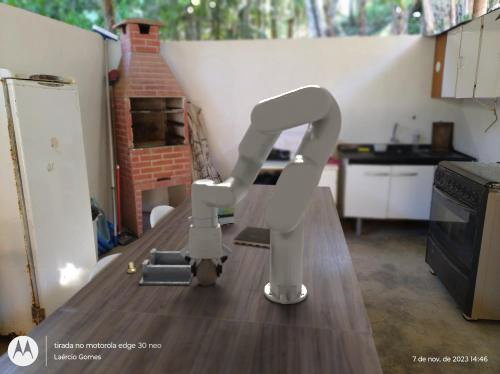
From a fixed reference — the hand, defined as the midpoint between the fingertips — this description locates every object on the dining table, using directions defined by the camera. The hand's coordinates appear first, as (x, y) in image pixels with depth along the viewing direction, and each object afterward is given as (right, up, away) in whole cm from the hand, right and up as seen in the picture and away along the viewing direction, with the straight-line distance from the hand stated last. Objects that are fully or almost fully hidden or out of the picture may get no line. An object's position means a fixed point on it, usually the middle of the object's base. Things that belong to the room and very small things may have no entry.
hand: (206, 274), depth 117 cm
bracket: (-12, 0, +10) cm, 16 cm away
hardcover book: (+20, +5, +36) cm, 42 cm away
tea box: (-1, +12, +60) cm, 61 cm away
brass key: (-27, 0, +11) cm, 29 cm away
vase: (0, -3, +1) cm, 3 cm away
